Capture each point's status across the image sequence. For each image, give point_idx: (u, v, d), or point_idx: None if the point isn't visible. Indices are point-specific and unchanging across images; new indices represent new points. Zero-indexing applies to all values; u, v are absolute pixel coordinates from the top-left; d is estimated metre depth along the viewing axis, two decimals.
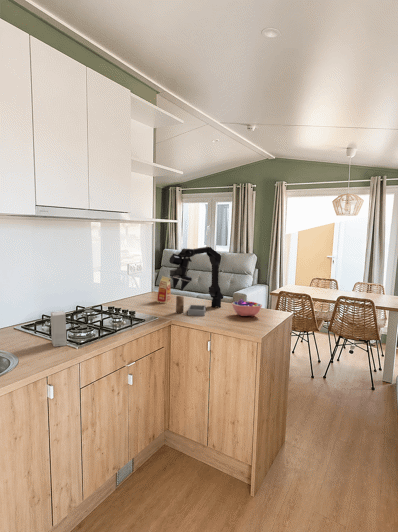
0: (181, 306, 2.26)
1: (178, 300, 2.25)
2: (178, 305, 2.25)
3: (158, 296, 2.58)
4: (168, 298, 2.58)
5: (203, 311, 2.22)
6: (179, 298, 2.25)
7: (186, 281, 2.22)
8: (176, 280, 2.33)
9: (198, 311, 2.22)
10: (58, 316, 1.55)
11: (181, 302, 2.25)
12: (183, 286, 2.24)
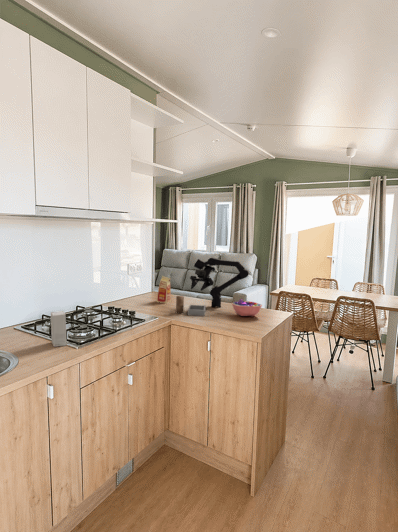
0: (181, 306, 2.26)
1: (178, 300, 2.25)
2: (178, 305, 2.25)
3: (158, 296, 2.58)
4: (168, 298, 2.58)
5: (203, 311, 2.22)
6: (179, 298, 2.25)
7: (208, 283, 2.38)
8: (194, 283, 2.47)
9: (198, 311, 2.22)
10: (58, 316, 1.55)
11: (181, 302, 2.25)
12: (204, 287, 2.39)
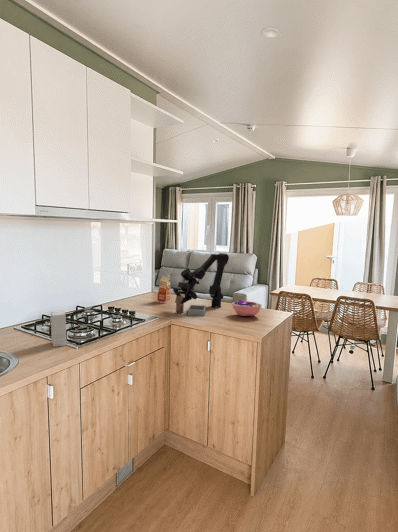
0: (181, 306, 2.26)
1: (178, 300, 2.25)
2: (178, 305, 2.25)
3: (158, 296, 2.58)
4: (168, 298, 2.58)
5: (203, 311, 2.22)
6: (179, 298, 2.25)
7: (189, 296, 2.25)
8: None
9: (198, 311, 2.22)
10: (58, 316, 1.55)
11: None
12: (184, 300, 2.25)
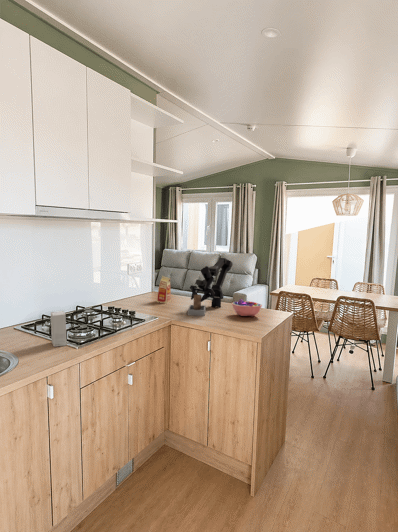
0: (199, 305, 2.27)
1: (196, 299, 2.26)
2: (196, 304, 2.27)
3: (158, 296, 2.58)
4: (168, 298, 2.58)
5: (203, 311, 2.22)
6: (197, 297, 2.26)
7: (209, 294, 2.25)
8: (195, 293, 2.34)
9: (198, 311, 2.22)
10: (58, 316, 1.55)
11: (199, 301, 2.27)
12: (203, 298, 2.26)
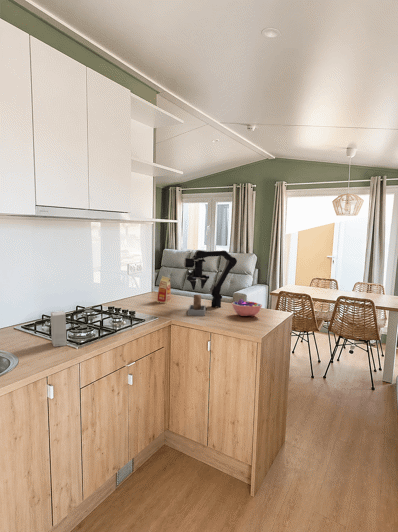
0: (199, 305, 2.27)
1: (196, 299, 2.26)
2: (196, 304, 2.27)
3: (158, 296, 2.58)
4: (168, 298, 2.58)
5: (203, 311, 2.22)
6: (197, 297, 2.26)
7: (190, 281, 2.40)
8: (203, 281, 2.49)
9: (198, 311, 2.22)
10: (58, 316, 1.55)
11: (199, 300, 2.27)
12: (192, 286, 2.42)
